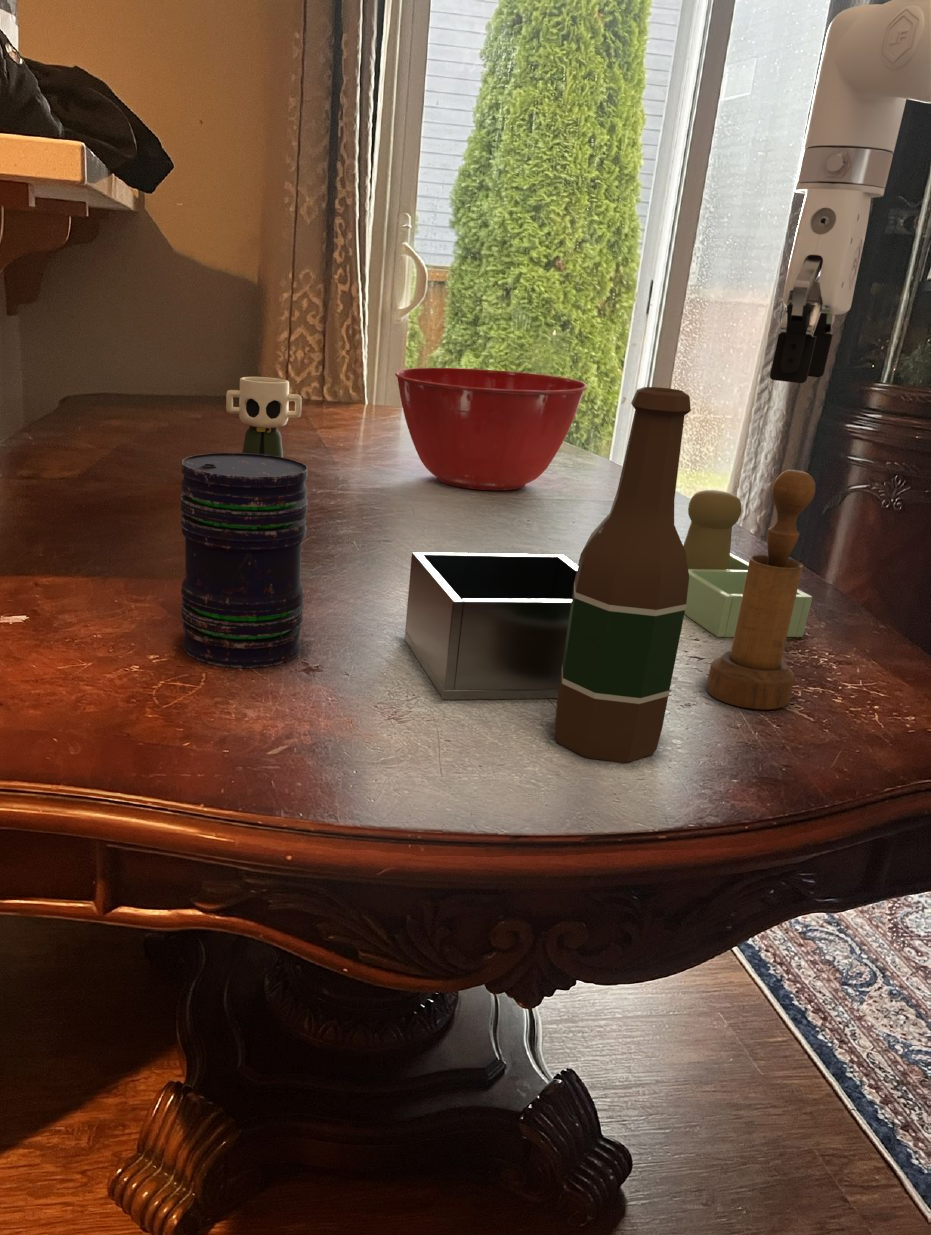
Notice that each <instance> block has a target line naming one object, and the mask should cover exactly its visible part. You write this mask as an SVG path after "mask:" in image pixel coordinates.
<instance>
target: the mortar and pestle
mask: <svg viewBox="0 0 931 1235" xmlns="http://www.w3.org/2000/svg"><path fill="white" fill-rule="evenodd" d="M815 493H816V482H815V479H814V477H813V476H812V475H810V473H808V472H805V471H802V470H797V469H787V470H784V471H783V472H781V473H780V474H779V475H777V477H776V479H775V480H774V481H773V484H772V488H771V497H772V499H773V503H774V507H775V510H776V521H775V523H774V525H773V526H771V527H769V528H768V529H767V535H766V536H767V537H766V540H767V555H765V554H756V555H752V556H750V557H749V561H748V563H749V565H748V570H747V576H746V581H745V585H744V590H743V595H742V600H741V605H740V610H739V615H738V620H737V625H736V630H735V635H734V637H733V639H732V645H731V650H729V651H726V652H724V653H722V655H720V656H718V657H715V659H713V660H712V662H711V664H710V668H709V672H708V676H707V682H706V687H705V688H706V691H707V693H708V694H709V696H711V697H713V698H714V699H717V700H718V701H721V702H723V703H725V704H728V705H731V706H735V707H739V708H745V709H752V710H759V711H760V710H762V711H763V710H764V711H765V710H766V711H767V710H768V711H770V710H777V709H782V708H784V707H786V706H787V705H788V704H789V703H790V700H791V697H792V692H793V687H794V684H795V673H794V672H793V670H791V669H790V667H789V665H788V664H787V662H785V661H784V660H783V657H784V652H785V647H786V643H787V638H788V637H787V634H788V629H789V625H790V620H791V616H792V611H793V607H794V603H795V598H796V594H797V590H798V589H799V585H800V581H801V577H802V574H803V569H804V564H803V563H802V562H799V561H797V560H794V559H791V558H789V557H790V555H791V553H792V552H793V549H794V548H795V546H796V544H797V542H798V539H799V537H800V532H799V531H798V529H797V521H798V518H799V516H800V515H801V514H802V513H803V511H805V509H806V508H807V507H808V506H809V504H810V503H811V502H812V501H813V499H814V497H815Z"/></svg>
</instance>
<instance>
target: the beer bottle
mask: <svg viewBox="0 0 931 1235" xmlns="http://www.w3.org/2000/svg"><path fill="white" fill-rule="evenodd" d="M630 404H631V406H632V408H634V413H633V418H632V422H631V423H632V424H631V427H630V432H629V437H628V440H627V445H626V450H625V455H624V458H623V463H622V464H623V465H622V466H621V467H622V468H621V472H620V477H619V482H618V485H617V486H618V487H617V490H616V494H615V495H614V496H615V497H614V499H613V502H612V505H611V508H610V511H609V514H607V515H606V516H605V517H604V519H603V520H602V521H601V522H600V523H599V525H598V526H597V527H596V528H595V529H594V530H593V532H591V534H590V535H589V538H588V540H587V541H586V543H585V545H584V547H583V549H582V550H581V553H580V555H579V560H578V563H577V566H578V568H577V572H576V577H575V582H574V589H573V595H572V602H571V609H570V616H569V622H568V629H567V636H566V643H565V650H564V656H563V663H562V670H561V677H560V683H559V690H558V697H557V698H556V707H555V708H556V709H555V718H554V719H555V720H554V726H555V727H554V728H555V732H554V735H555V737H554V738H555V740H556V743H557V744H559V745H560V746H562V747H565V748H567V749H568V750H570V751H572V752H574V753H576V754H578V755H580V756H582V757H583V758H586V759H593V760H601V761H610V762H618V763H625V764H626V763H630V762H633V761H636V760H639V759H642V758H646V757H649V756H651V755H654V753H656V751H657V749H658V746H659V742H660V737H661V735H662V730H663V725H664V721H665V717H666V716H665V715H666V710H667V705H668V700H669V696H670V691H671V685H672V679H673V674H674V669H675V665H676V660H677V654H678V649H679V644H680V638H681V634H682V627H683V622H684V618H685V614H684V613H685V608H686V602H687V593H688V584H689V571H688V565H687V558H686V552H685V549H684V547H683V545H684V544H683V542H682V540H681V538H680V536H679V533H678V530H677V528H676V525H675V500H676V499H675V498H676V489H677V481H678V473H679V467H680V466H679V465H680V456H681V448H682V441H683V432H684V423H685V416H686V415H687V414H689V413H691V411H692V409H691V408H692V407H691V397H690V395H689V394H688V393H687V392H685V391H683V390H681V389H676V388H669V387H658V386H643V387H640V388H637V389H636V391H635V393H634V396H633V398H632V400H631V402H630Z"/></svg>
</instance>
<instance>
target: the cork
mask: <svg viewBox="0 0 931 1235" xmlns="http://www.w3.org/2000/svg"><path fill="white" fill-rule="evenodd" d="M687 510H688V511H687V514H688V517H689V519H690V524H689V528H688V531H687V533H686V537H685V540H684V543H683V544H682V545H683V547H684V549H685V552H686V558H687V565H688V569H718V570H729V562H730V553H731V549H732V548H731V547H732V546H731V545H732V535H733V534H732V533H733V526H735V525H736V524H737V522H738V521H739V519H740V518H741V514H742V503H741V500H740V498H739V497H738V496H737V495H736V494H733V493H731V492H727V491H724V490H717V489H705V490H699V491H697V492H695V493H694V494H693V495H692V496H691V498H690V500H689V502H688V506H687Z"/></svg>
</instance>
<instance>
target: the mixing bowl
mask: <svg viewBox="0 0 931 1235" xmlns="http://www.w3.org/2000/svg"><path fill="white" fill-rule="evenodd" d="M394 375H395V377H396V378H397V385H398V390H399V397H400V402H401V406H402V412H403V416H404V419H405V423H406V427H407V429H408V432H409V436H410V438H411V441H412V444H413V446H414V448H415V451H416V453H417V455H418V458H419V460H420V462H421V464H422V465H424V468H426V469H427V471H428V472H429V473H430V474H432V475H433V476H434V477H436V478H437V480H438V481H439V482H441V483H444V484H446V485H450V486H453V487H458V488H465V489H471V490H480V491H511V490H517V489H522V488H524V487H525V486H526V485H528V484H529V483H531V482H534V481H535V480H536V479H538V478H539V477H540V476H541V475H543V473H544V472H545V471H546V470H547V469H548V467H549V466H550V464H551V463H552V461H553V460H554V458H555V456H556V455H557V454H558V452H559V450H560V448H561V446H562V444H563V443H564V441H565V439H566V437H567V435H568V433H569V431H570V429H571V427H572V425H573V422H574V420H575V417H576V415H577V413H578V409H579V407H580V404H581V401H582V399H583V396H584V394H585V393H584V392H585V390H586V389H588V384H587V383H585V382H583V381H581V380H578V379H574V378H573V379H572V378H570V377H569V378H568V377H562V376H557V375H549V374H540V373H531V372H523V371H521V372H520V371H509V370H499V369H498V370H497V369H496V370H495V369H483V368H481V369H480V368H463V367H462V368H461V367H413V368H405V369H400V370H396V371H395V373H394Z"/></svg>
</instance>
